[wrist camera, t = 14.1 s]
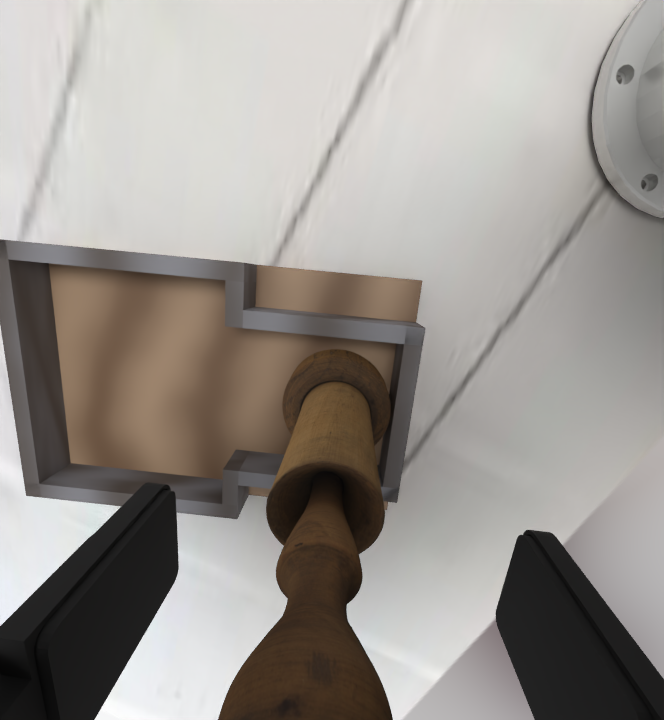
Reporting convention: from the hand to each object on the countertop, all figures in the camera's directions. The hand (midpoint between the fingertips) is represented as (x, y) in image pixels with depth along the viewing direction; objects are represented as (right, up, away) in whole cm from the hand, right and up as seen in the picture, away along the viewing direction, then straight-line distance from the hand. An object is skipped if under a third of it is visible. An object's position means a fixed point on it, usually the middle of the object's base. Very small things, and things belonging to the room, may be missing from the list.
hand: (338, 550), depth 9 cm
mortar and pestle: (0, +3, +13) cm, 13 cm away
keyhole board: (-7, +4, +14) cm, 16 cm away
